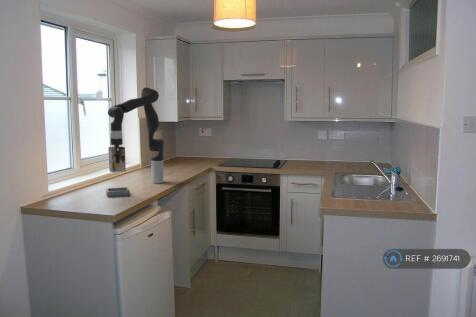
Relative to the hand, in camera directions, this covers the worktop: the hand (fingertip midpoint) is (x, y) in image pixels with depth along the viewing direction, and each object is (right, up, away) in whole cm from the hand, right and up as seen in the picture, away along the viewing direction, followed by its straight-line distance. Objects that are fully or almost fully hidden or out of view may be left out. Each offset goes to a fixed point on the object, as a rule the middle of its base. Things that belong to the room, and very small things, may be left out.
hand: (117, 162), depth 276 cm
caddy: (0, -21, +3) cm, 22 cm away
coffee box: (0, -6, +1) cm, 6 cm away
